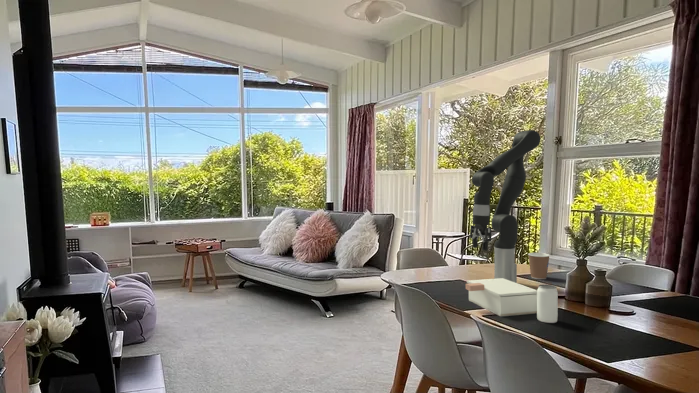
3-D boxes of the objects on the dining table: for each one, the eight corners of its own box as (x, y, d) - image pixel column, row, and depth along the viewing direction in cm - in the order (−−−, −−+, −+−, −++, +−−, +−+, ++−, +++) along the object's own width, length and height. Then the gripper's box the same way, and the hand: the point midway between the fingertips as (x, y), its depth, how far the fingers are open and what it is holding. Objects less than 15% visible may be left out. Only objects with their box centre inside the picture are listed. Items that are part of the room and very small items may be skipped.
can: (556, 318, 148) (556, 284, 148) (558, 324, 142) (559, 289, 141) (536, 316, 150) (536, 283, 150) (537, 322, 144) (538, 287, 144)
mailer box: (502, 297, 176) (502, 281, 175) (538, 313, 154) (538, 294, 154) (468, 300, 172) (468, 283, 172) (500, 316, 150) (500, 297, 150)
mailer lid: (502, 280, 176) (502, 275, 176) (539, 293, 154) (539, 287, 154) (453, 283, 170) (453, 278, 170) (484, 297, 148) (484, 292, 148)
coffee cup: (553, 280, 207) (553, 256, 207) (532, 280, 208) (532, 256, 207) (544, 275, 218) (544, 252, 217) (524, 275, 218) (524, 252, 218)
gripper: (497, 215, 189) (495, 251, 189) (480, 213, 203) (478, 246, 203) (482, 215, 187) (481, 251, 188) (466, 213, 201) (464, 246, 201)
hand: (479, 249), depth 195 cm, fingers open, 8 cm apart
